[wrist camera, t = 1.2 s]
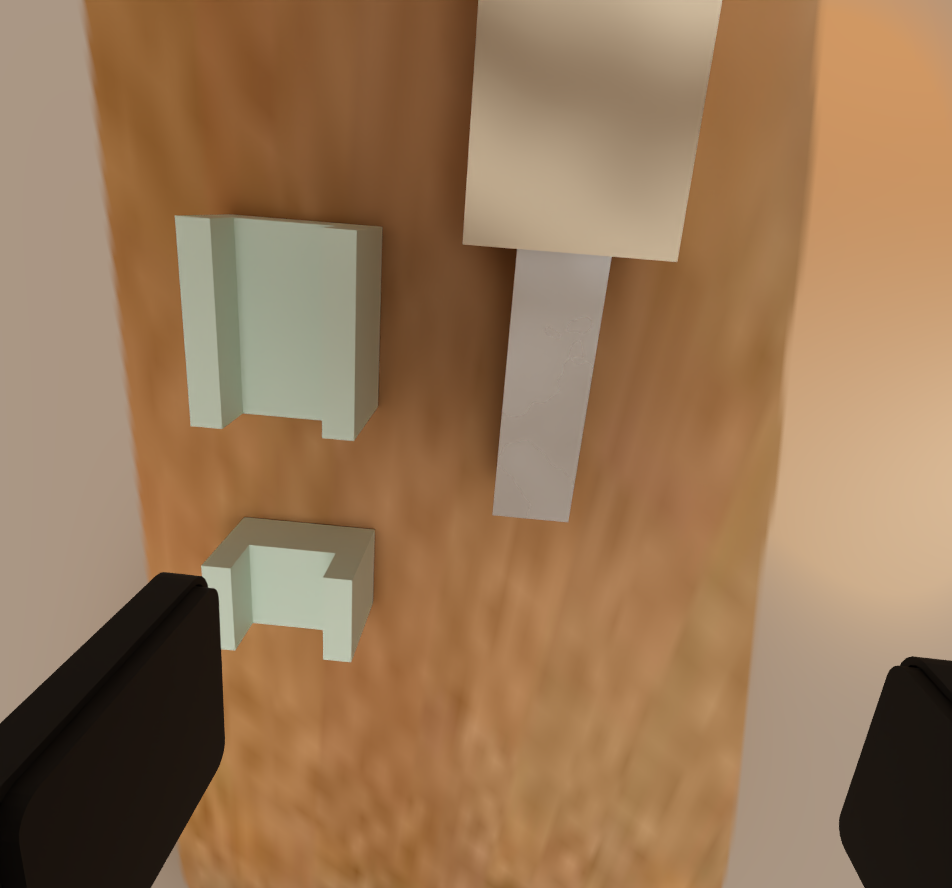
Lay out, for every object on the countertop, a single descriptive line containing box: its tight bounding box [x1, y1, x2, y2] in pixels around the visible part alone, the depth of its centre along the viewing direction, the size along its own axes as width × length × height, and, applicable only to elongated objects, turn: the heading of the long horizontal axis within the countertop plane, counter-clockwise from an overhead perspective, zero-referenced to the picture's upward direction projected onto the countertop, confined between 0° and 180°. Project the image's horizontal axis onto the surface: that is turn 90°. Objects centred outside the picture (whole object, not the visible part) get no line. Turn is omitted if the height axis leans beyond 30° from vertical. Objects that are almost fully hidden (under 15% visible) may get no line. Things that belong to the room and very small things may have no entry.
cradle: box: [175, 214, 383, 662], centre depth 27 cm, size 18×6×4 cm, turn 176°
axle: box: [493, 249, 612, 522], centre depth 24 cm, size 16×3×3 cm, turn 176°
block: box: [463, 0, 722, 262], centre depth 21 cm, size 10×6×8 cm, turn 176°
